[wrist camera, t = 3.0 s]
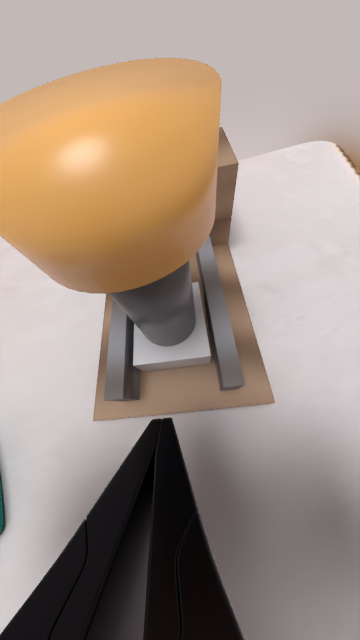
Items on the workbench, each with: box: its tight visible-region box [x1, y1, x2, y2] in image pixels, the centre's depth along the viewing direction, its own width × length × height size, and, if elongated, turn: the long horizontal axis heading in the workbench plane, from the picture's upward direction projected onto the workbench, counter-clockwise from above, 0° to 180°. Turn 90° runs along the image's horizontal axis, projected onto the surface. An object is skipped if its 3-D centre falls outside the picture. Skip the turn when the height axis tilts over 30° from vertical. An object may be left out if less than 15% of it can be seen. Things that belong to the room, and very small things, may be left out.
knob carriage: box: [0, 58, 221, 372], centre depth 10 cm, size 6×6×13 cm
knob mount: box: [93, 127, 275, 421], centre depth 15 cm, size 21×13×8 cm, turn 5°
